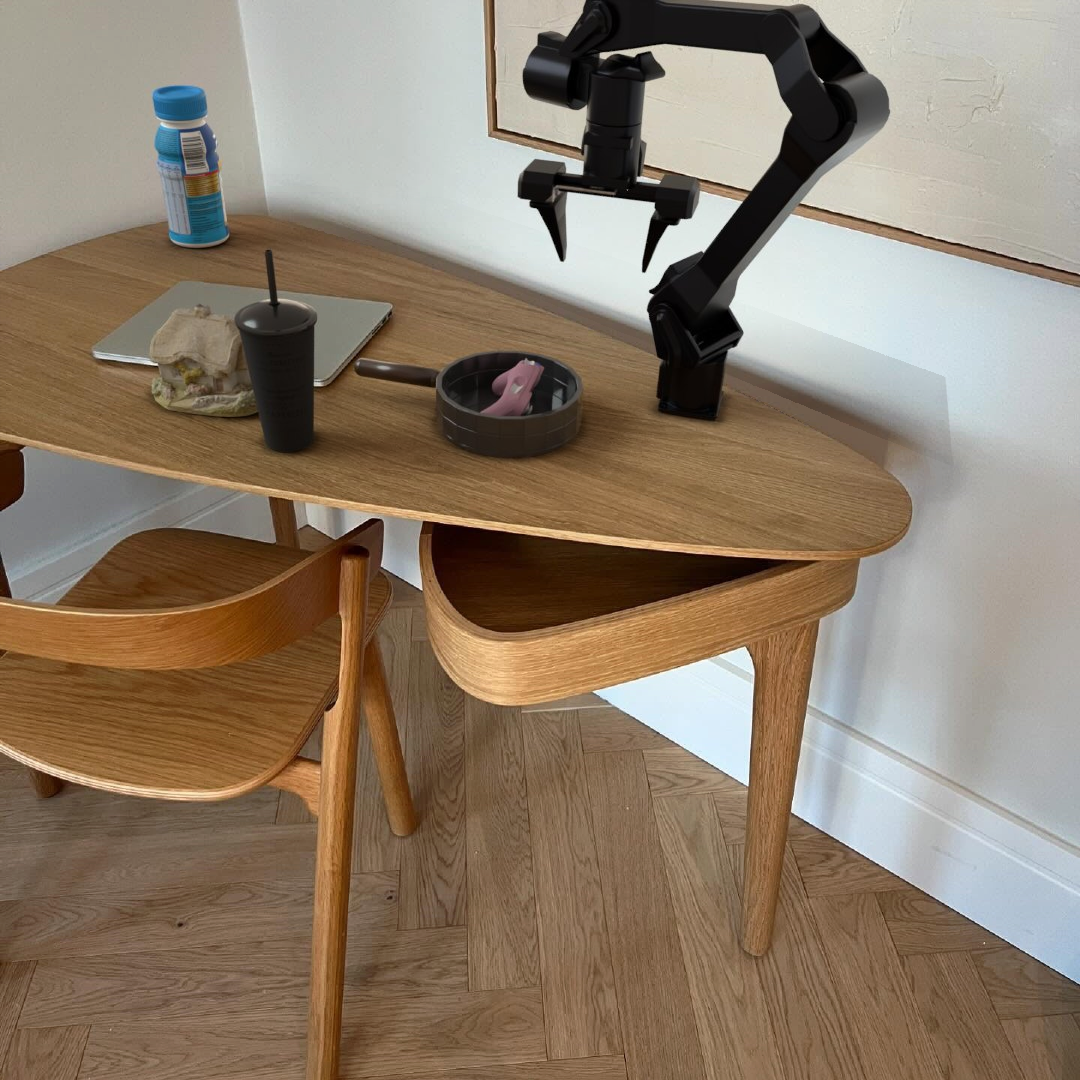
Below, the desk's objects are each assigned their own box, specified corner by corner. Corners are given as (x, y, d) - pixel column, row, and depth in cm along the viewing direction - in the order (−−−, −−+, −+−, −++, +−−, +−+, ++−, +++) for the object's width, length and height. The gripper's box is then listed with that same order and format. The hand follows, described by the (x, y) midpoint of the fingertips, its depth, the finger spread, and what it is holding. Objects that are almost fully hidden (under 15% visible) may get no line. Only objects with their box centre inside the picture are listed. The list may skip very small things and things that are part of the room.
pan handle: (446, 384, 117) (445, 367, 116) (440, 392, 115) (439, 375, 114) (358, 370, 119) (357, 353, 117) (351, 378, 117) (350, 361, 116)
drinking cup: (292, 468, 107) (270, 273, 95) (235, 444, 110) (206, 253, 98) (343, 436, 112) (328, 247, 101) (287, 414, 115) (266, 229, 104)
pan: (593, 399, 121) (596, 362, 118) (560, 468, 109) (563, 429, 106) (462, 378, 124) (462, 341, 121) (416, 443, 112) (415, 405, 109)
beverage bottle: (158, 246, 152) (133, 96, 140) (184, 225, 159) (162, 80, 147) (216, 252, 151) (195, 101, 139) (240, 231, 158) (221, 85, 146)
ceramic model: (129, 401, 116) (111, 314, 111) (191, 358, 125) (177, 275, 119) (243, 428, 113) (231, 339, 107) (299, 381, 121) (290, 297, 116)
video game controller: (506, 452, 113) (538, 403, 109) (467, 430, 112) (498, 379, 108) (526, 407, 121) (556, 359, 116) (490, 386, 120) (519, 337, 116)
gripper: (715, 109, 116) (697, 251, 125) (545, 92, 120) (540, 231, 129) (700, 137, 107) (682, 287, 116) (517, 117, 111) (514, 264, 120)
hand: (603, 265), depth 121 cm, fingers open, 9 cm apart
